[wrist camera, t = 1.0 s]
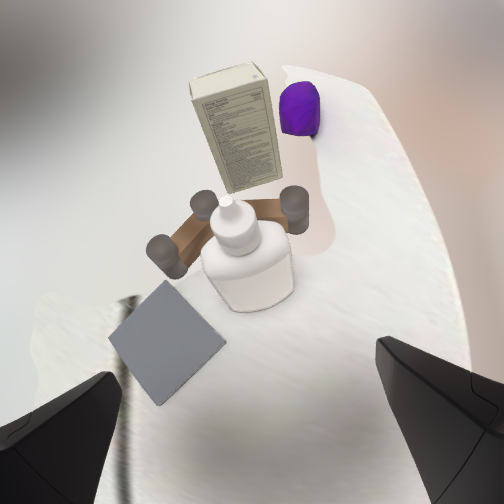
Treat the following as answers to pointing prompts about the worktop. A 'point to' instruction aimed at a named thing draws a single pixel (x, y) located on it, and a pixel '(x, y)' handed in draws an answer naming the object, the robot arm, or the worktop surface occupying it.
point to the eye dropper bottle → (247, 258)
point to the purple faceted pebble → (300, 109)
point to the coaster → (164, 342)
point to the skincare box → (238, 125)
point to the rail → (199, 233)
